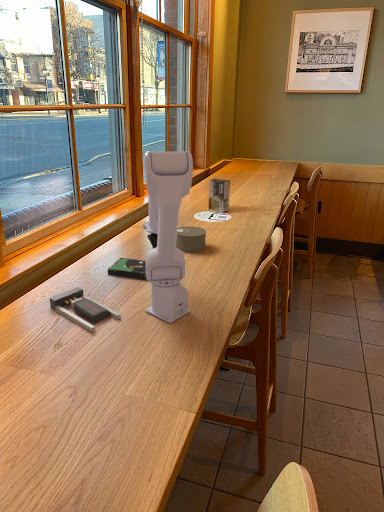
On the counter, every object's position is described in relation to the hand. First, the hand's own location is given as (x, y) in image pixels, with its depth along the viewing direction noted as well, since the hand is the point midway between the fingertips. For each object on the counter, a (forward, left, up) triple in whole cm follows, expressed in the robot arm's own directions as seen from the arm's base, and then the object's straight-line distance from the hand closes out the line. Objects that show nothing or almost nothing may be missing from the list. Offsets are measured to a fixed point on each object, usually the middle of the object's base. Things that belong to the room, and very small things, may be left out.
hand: (159, 257), depth 115 cm
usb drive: (+3, +24, -10) cm, 26 cm away
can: (+15, -32, -10) cm, 37 cm away
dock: (+4, +25, -9) cm, 27 cm away
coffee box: (+40, -84, -10) cm, 94 cm away
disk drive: (+14, -2, -10) cm, 17 cm away
